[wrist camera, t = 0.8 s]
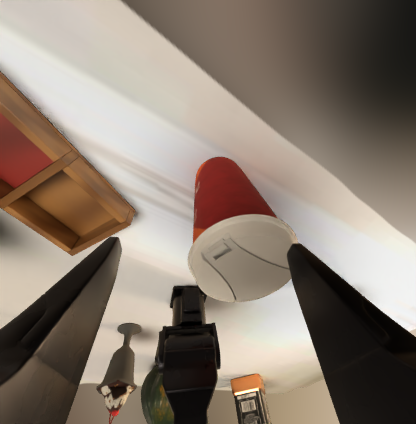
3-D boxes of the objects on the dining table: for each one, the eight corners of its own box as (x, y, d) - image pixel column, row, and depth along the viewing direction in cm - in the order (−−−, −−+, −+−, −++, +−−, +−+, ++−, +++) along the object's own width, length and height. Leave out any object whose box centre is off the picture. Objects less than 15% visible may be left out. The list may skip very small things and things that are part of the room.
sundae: (128, 338, 46) (107, 435, 34) (106, 327, 42) (74, 432, 30) (151, 329, 44) (139, 427, 32) (131, 317, 41) (109, 423, 29)
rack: (135, 210, 26) (130, 225, 23) (82, 240, 28) (72, 256, 25) (-16, 55, 16) (-51, 52, 14) (-82, 117, 18) (-124, 125, 15)
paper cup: (173, 177, 24) (162, 277, 12) (223, 132, 21) (268, 203, 10) (214, 215, 27) (236, 317, 16) (261, 180, 25) (326, 272, 14)
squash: (212, 379, 51) (170, 451, 40) (199, 393, 60) (162, 456, 49) (173, 338, 56) (126, 392, 45) (166, 356, 65) (125, 406, 54)
